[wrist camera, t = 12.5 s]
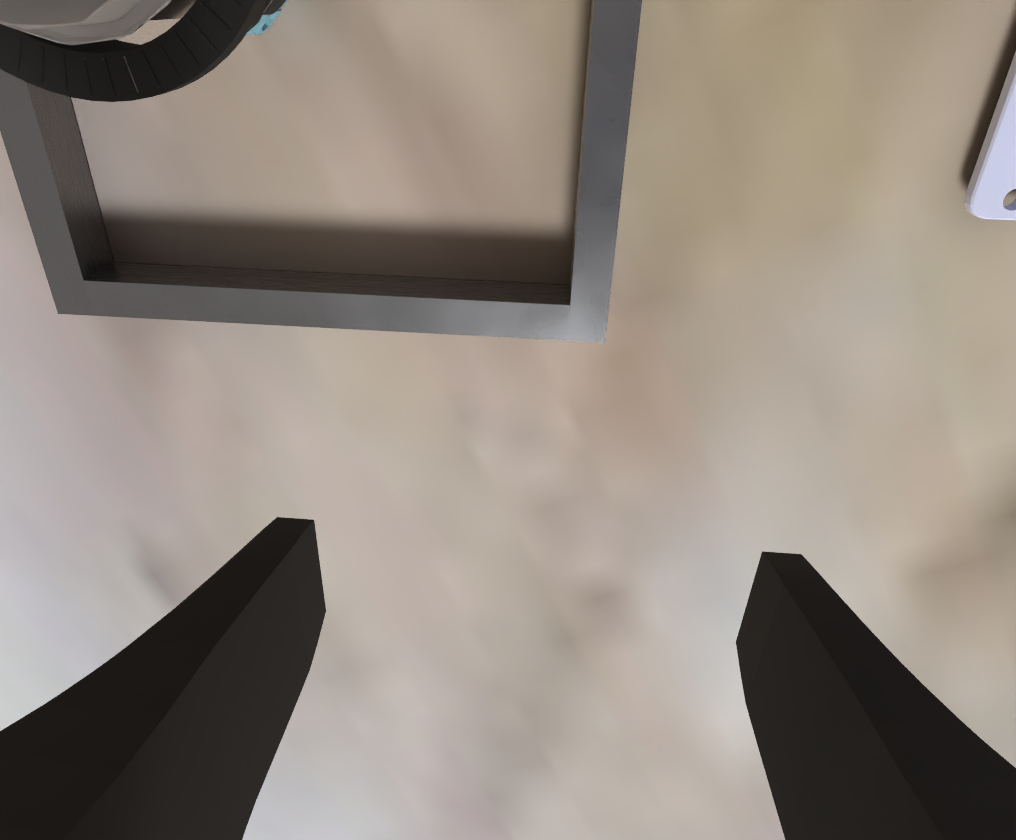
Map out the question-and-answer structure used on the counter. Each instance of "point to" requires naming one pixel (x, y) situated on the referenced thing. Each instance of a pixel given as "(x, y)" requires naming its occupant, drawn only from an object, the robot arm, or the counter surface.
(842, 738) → the robot arm
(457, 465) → the counter surface
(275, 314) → the frame
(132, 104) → the counter surface
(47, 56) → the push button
